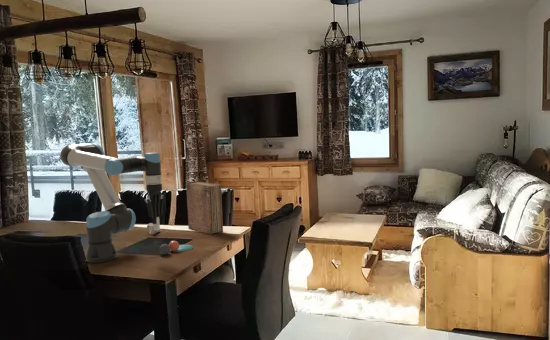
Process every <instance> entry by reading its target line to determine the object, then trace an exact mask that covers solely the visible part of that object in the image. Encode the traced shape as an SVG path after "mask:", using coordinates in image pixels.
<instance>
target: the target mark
mask: <svg viewBox="0 0 550 340" xmlns="http://www.w3.org/2000/svg"><path fill="white" fill-rule="evenodd" d="M193 248H194V246H193V245H191V244H179V248H178V250H176V251H173V252H175V253H176V252H187V251H190V250H192V249H193ZM170 252H172V251H171V250H170Z"/></svg>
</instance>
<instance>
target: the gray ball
mask: <svg viewBox="0 0 550 340" xmlns="http://www.w3.org/2000/svg"><path fill="white" fill-rule="evenodd" d="M170 252H171V251H170V246H169V244H167V243H163V244H161V245H160V246H159V253H160V254H161V255H164V256H166V255H168V254H169V253H170Z"/></svg>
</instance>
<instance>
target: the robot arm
mask: <svg viewBox="0 0 550 340" xmlns="http://www.w3.org/2000/svg"><path fill="white" fill-rule="evenodd" d="M59 156H60V157H59V158H60V161H61V162H62V163H63V164H64V165H66V166H68V167H73V168H78V167H81V169H82V171H83V172H86V173H87V175H88V178H89V180H90V181H91V183H92V186H93V188H94V190H95V192H96V193H97V196H98V197H99V200H100V202H101V204H102V206H103V208H104V210H102V211H96V212H93V213H91V214H89V215H88V216H87V217H86V219H85V220H86V222H85V223H86V225H85V227H86V235H87V248H86V251H85V256H86V260H87V263H91V264H92V263H94V264H98V263H104V262H109V261H113V260H115V259H116V258H118V253H117V249H116V248H115V246H114V243H113V236H114V235H118V234H121V233H126V232H128V231H130V230H132V229H134V227H135V226H136V225H135V224H136V221H137V219H136V218H137V217H136V214H135V212H134V211H133V209H131V208H127V205H126V204H125V203H123V202H122V201H120V199H119V195H118V194H117V193H116V191H115V188H114V187H113V185H112V182H111V180H110V178H109V176H118V175H122V174H123V175H124V174H128V173H130V174H131V173H136V172H145V183H146V185H145V186H146V187H145V188H146V192H147V197H146V198H144V199H143V201H144V202H145V205H146V209H147V213H148V217H149V218H151V219H152V223H153V226H154V230H160V231H161V226H160V223H161V220H160V219H161V218H162V215H163V214H164V205H165V203H164V202H165V199H166V195H163V193H162V191H163V184H162V182H163V181H162V168H161V167H162V163H161V162H162V161H161V154H160V153H159V152H145V153H144V156H136V155H135V156H129V157H122V158H118V157H113V156H108V155H105V152H104V150H103V148H102V146H100V145H99V144H98V143H94V142H85V143H72V144H68V145H65V146H64V147H63V148H62V149H61V150H60V155H59ZM108 175H109V176H108ZM85 256H84V257H85ZM86 260H85V261H86Z"/></svg>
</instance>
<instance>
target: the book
mask: <svg viewBox="0 0 550 340" xmlns="http://www.w3.org/2000/svg"><path fill="white" fill-rule="evenodd" d="M185 188H186V189H185V190H186V206H187V207H186V208H187V220H188V221H187V222H188V223H187V224H188V226H187V227H188V229H189V230H193V231H195V232H200V233H202V234H206V235H209V236H212V235H213V234H216V233H223V232H224V224H223V223H224V222H223V201H222V200H223V199H222V184H221V183H215V182H214V183H213V182H207V181H190V182H186V183H185Z"/></svg>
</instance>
